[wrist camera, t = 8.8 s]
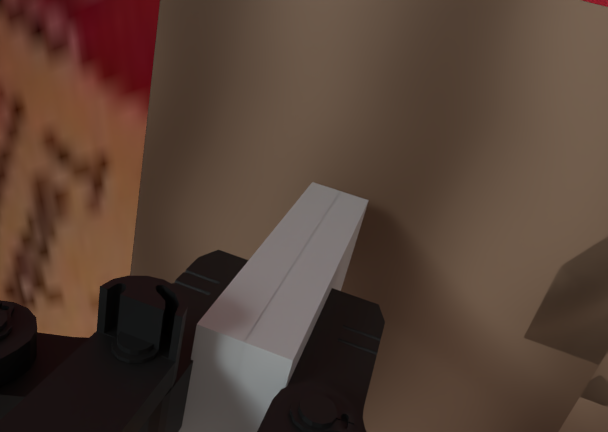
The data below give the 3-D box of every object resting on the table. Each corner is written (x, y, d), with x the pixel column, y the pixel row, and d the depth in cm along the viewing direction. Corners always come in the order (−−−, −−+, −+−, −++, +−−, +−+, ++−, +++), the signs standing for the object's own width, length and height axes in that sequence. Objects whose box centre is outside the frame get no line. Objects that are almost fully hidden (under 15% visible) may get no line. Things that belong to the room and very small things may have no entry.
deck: (159, 310, 21) (122, 347, 19) (216, -89, 15) (171, -104, 13) (760, 547, 18) (802, 627, 15) (1146, 148, 12) (1306, 184, 9)
